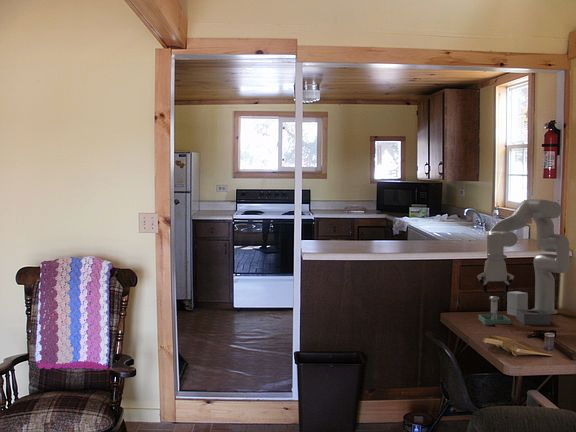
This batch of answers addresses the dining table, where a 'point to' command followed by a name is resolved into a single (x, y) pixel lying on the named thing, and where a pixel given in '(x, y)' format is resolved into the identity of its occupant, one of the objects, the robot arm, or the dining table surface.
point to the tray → (488, 321)
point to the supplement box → (516, 302)
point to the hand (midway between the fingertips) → (495, 292)
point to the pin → (494, 307)
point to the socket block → (533, 317)
